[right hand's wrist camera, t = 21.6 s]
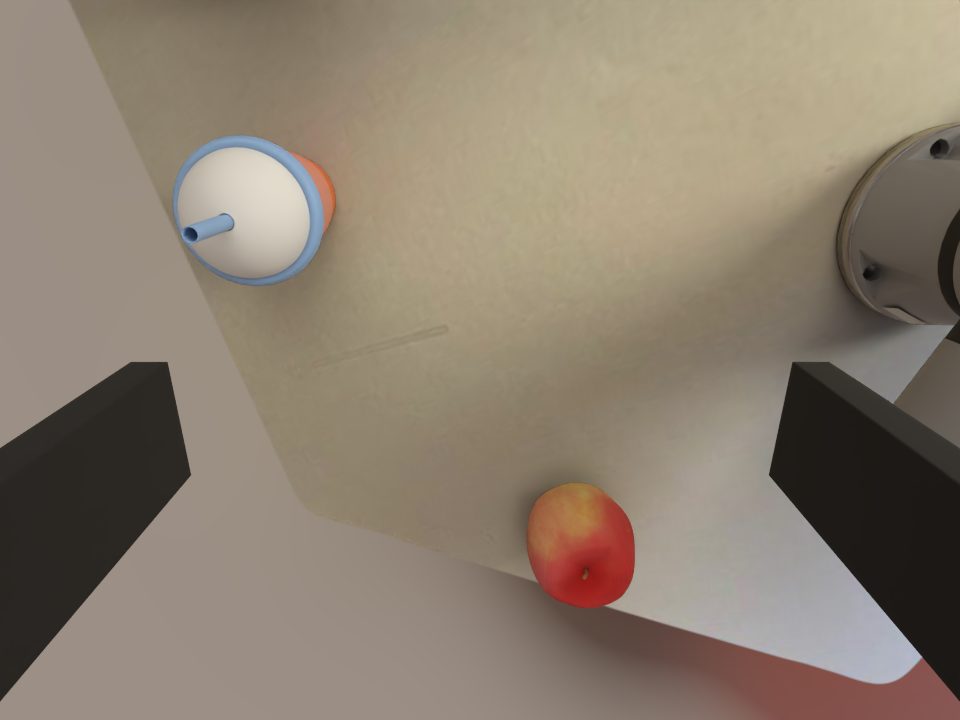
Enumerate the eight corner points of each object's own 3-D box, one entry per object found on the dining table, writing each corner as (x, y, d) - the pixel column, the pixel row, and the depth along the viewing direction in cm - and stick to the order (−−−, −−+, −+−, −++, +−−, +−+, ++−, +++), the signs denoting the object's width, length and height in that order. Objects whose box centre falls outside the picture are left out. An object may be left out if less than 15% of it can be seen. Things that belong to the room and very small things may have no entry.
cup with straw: (245, 254, 47) (116, 321, 30) (230, 133, 44) (75, 134, 27) (358, 256, 47) (291, 324, 30) (351, 135, 44) (272, 137, 27)
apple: (639, 485, 55) (671, 557, 46) (589, 559, 58) (610, 640, 49) (548, 447, 54) (562, 513, 44) (503, 525, 57) (507, 602, 47)
